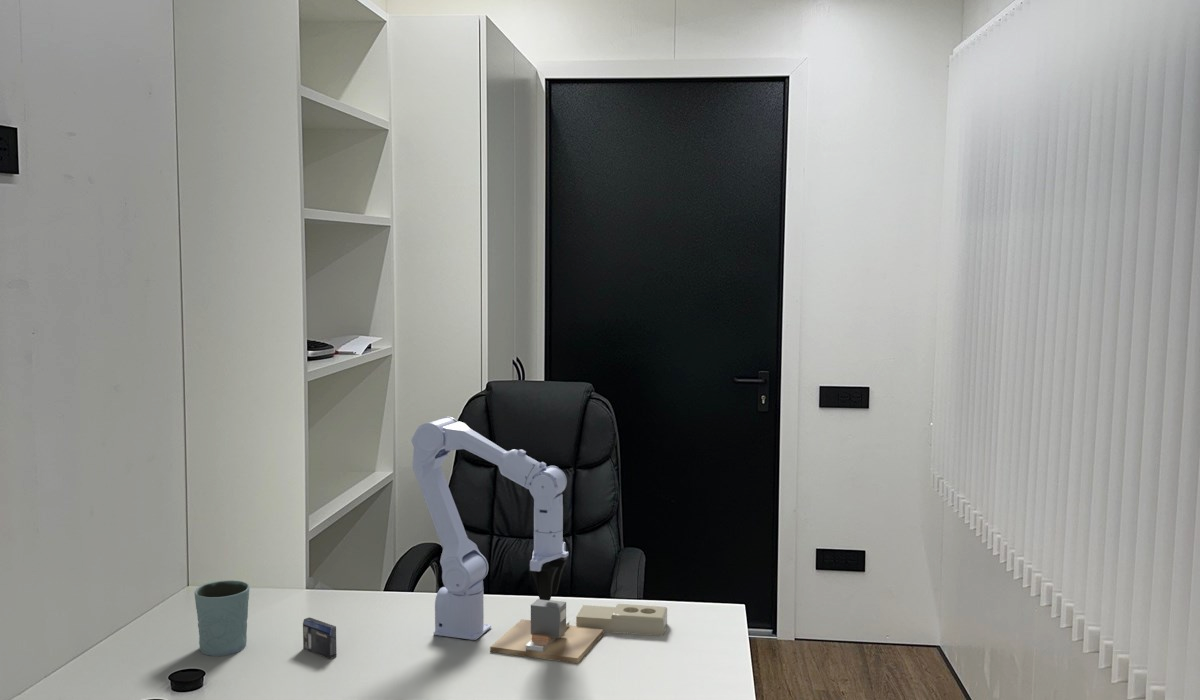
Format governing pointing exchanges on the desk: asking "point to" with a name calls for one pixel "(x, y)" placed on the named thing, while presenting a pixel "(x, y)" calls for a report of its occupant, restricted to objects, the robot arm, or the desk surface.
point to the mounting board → (562, 649)
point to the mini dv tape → (319, 637)
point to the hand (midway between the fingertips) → (548, 596)
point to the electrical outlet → (624, 619)
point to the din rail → (541, 641)
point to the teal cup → (222, 617)
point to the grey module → (548, 617)
